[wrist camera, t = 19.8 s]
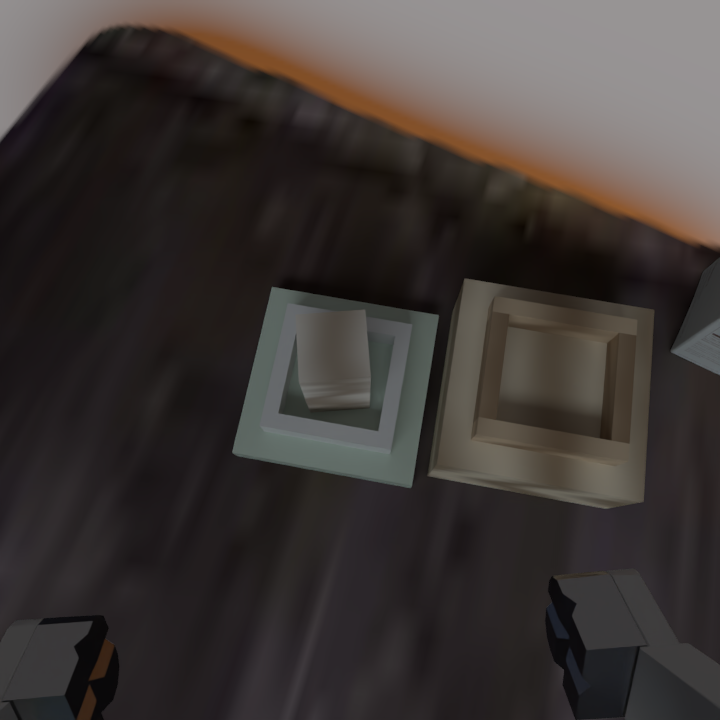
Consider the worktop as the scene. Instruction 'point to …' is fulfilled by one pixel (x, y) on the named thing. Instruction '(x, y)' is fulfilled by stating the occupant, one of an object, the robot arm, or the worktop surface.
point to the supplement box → (702, 323)
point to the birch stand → (545, 395)
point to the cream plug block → (334, 360)
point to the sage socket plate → (343, 427)
